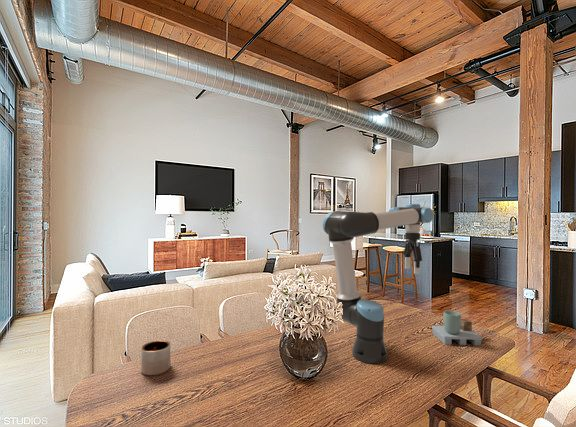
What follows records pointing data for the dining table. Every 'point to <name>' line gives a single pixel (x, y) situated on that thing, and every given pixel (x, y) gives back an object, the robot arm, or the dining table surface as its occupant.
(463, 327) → the block
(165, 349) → the planter
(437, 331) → the dock
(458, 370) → the dining table surface
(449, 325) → the cup
